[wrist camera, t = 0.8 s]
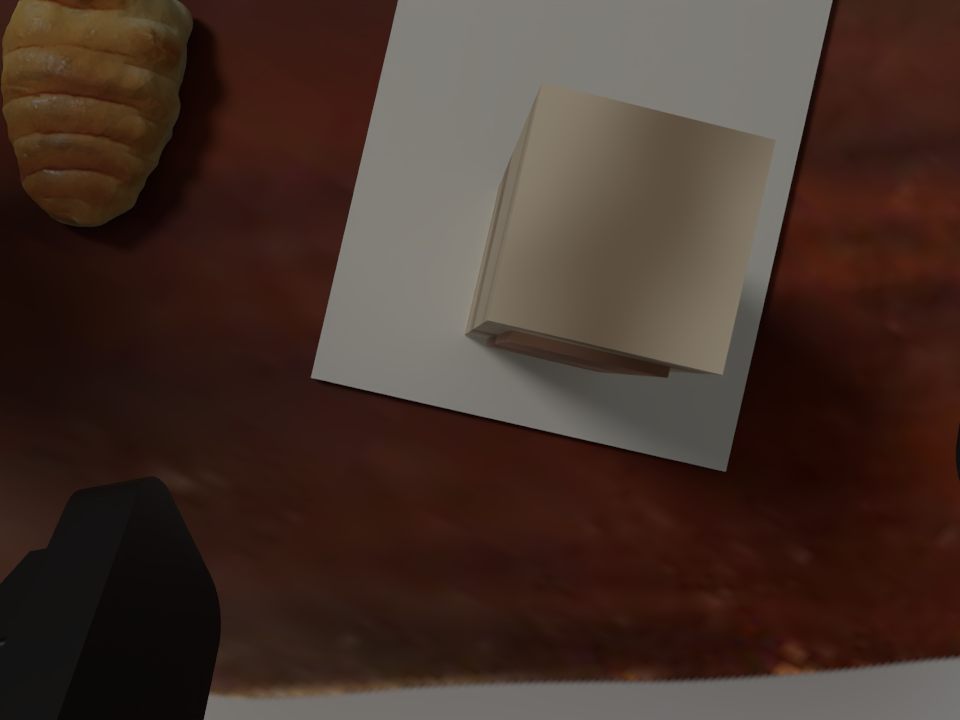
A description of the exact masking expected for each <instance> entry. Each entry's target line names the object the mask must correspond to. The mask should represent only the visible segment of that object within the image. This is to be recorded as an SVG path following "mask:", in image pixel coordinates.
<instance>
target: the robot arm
mask: <svg viewBox="0 0 960 720" xmlns="http://www.w3.org/2000/svg"><path fill="white" fill-rule="evenodd" d="M956 464H957V471H958V476H959V480H960V425H959V432H958V438H957V445H956ZM220 633H221V617H220V607H219V601H218V596H217V592H216V588H215V585H214V582H213V580H212V578H211V575H210V573H209V571H208V569H207V567H206V565H205V563H204V561H203V559H202V557H201V555H200V553H199V551H198V549H197V547H196V545H195V543H194V541H193V539H192V537H191V535H190V533H189V531H188V529H187V527H186V525H185V522H184V520H183V518H182V516H181V514H180V512H179V510H178V508H177V506H176V504H175V502H174V500H173V498H172V496H171V494H170V492H169V490H168V489H167V487H166V486H165V484H164V483H163V482H162V481H161V480H160V479H158V478H156V477H146V478H141V479H135V480H130V481H124V482H119V483H114V484H108V485H103V486H97V487H92V488H86V489H81V490H78V491H76V492H75V493H74V494H73V495H72V496H71V497H70V499H69V500H68V502H67V504H66V506H65V509H64V511H63V513H62V515H61V518H60V520H59V522H58V524H57V527H56V529H55V531H54V533H53V536H52V538H51V540H50V542H49V545H48V547H47V548H46V549H40V550H35V551H30V552H29V553H28V554H27V555H26V556H25V557H24V559H23V560H22V561H21V562H20V563H19V564H18V565H17V566H16V567H15V568H14V570H13V571H12V572H11V573H10V574H9V575H8V576H7V577H6V578H5V579H4V581H3V582H2V583H1V584H0V720H204V715H205V710H206V706H207V701H208V696H209V691H210V686H211V681H212V677H213V672H214V667H215V662H216V657H217V652H218V647H219V642H220Z"/></svg>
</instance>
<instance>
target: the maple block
mask: <svg viewBox="0 0 960 720" xmlns="http://www.w3.org/2000/svg"><path fill="white" fill-rule="evenodd" d="M775 142H776V140H774V139H770V138H766V137H762V136H758V135H754V134H750V133H746V132H742V131H738V130H734V129H730V128H726V127H722V126H718V125H714V124H710V123H706V122H702V121H698V120H694V119H690V118H686V117H682V116H678V115H674V114H670V113H666V112H662V111H658V110H654V109H650V108H646V107H641V106H637V105H633V104H629V103H625V102H621V101H617V100H613V99H609V98H605V97H601V96H597V95H593V94H589V93H585V92H581V91H577V90H573V89H569V88H565V87H561V86H557V85H553V84H549V83H545V82H542V83H541V86H540V88H539V91H538V93H537V96H536V98H535V100H534V103H533V105H532V108H531V110H530V112H529V115H528V117H527V120H526V122H525V125H524V127H523V129H522V132H521V134H520V137H519V139H518V141H517V144H516V146H515V149H514V151H513V153H512V156H511V158H510V161H509V163H508V166H507V168H506V170H505V173H504V175H503V178H502V180H501V182H500V185H499V187H498V191H497V196H496V200H495V204H494V209H493V213H492V217H491V222H490V226H489V230H488V235H487V239H486V244H485V248H484V252H483V257H482V261H481V265H480V270H479V274H478V278H477V283H476V287H475V291H474V296H473V300H472V304H471V309H470V313H469V317H468V322H467V326H466V331H465V335H467V336H472V337H476V338H480V339H485V340H487V342H486V346H487V347H492V348H496V349H500V350H505V351H509V352H513V353H518V354H522V355H526V356H531V357H535V358H539V359H544V360H548V361H552V362H557V363H561V364H565V365H570V366H574V367H578V368H582V369H587V370H591V371H595V372H601V373H614V374H626V375H638V376H651V377H663V378H668V375H669V372H678V373H696V374H714V375H723V371H724V367H725V362H726V358H727V354H728V349H729V345H730V340H731V336H732V332H733V327H734V323H735V318H736V314H737V309H738V305H739V301H740V296H741V292H742V287H743V283H744V279H745V274H746V270H747V265H748V261H749V256H750V252H751V248H752V243H753V239H754V234H755V230H756V226H757V221H758V217H759V212H760V208H761V204H762V199H763V195H764V190H765V186H766V181H767V177H768V173H769V168H770V164H771V159H772V155H773V151H774V146H775Z"/></svg>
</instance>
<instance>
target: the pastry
mask: <svg viewBox="0 0 960 720" xmlns="http://www.w3.org/2000/svg"><path fill="white" fill-rule="evenodd" d="M192 28H193V20H192V17H191V14H190V11H189V10H188V9H187V8H186V7H185V6H184V5H183V4H182V3H180V2H179V1H177V0H19V2H18V4H17V7H16V9H15V11H14V13H13V15H12V17H11V20H10V23H9V25H8V26H7V28H6V32H5V35H4V37H3V65H4V66H3V72H2V77H1V91H2V94H3V109H2V110H3V115H4V117H5V120H6V122H7V125H8V137H9V140H10V142H11V143H12V145H13V147H14V150H15V154H16V156H17V160H18V166H19V170H20V175H21V183H22V186H23V188H24V189H25V191H26V192H27V194H28V195H29V196H30V197H31V198H32V200H33V201H35V202H36V203H37V204H38V205H39V206H40V207H41V208H42V209H43V210H44V211H45V212H47V213H48V214H49V216H50V217H52V218H53V219H55V220H57V221H58V222H61V223H63V224H68V225H72V226H78V227H95V226H101V225H103V224H105V223H107V222H108V221H110V220H112V219H113V218H115V217H117V216H119V215H121V214H123V213H125V212H126V211H128V210H130V209H131V208H132V207H133V206H134V205H135V203H136V201H137V198H138V195H139V193H140V192H141V190H142V189H143V188H144V186H145V182H146V179H147V177H148V176H149V175H150V173H151V172H152V171H153V170H154V169H155V168H156V167H157V165H158V163H159V158H160V155H161V153H162V150H163V148H164V147H165V145H166V144H167V143H168V142H169V141H170V139H171V138H172V134H173V131H172V129H173V127H174V125H175V123H176V121H177V119H178V116H179V112H180V106H181V104H180V100H179V96H178V93H179V89H180V86H181V84H182V81H183V76H184V72H185V69H186V61H187V42H188V39H189V36H190V34H191V31H192Z"/></svg>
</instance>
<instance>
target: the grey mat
mask: <svg viewBox="0 0 960 720" xmlns="http://www.w3.org/2000/svg"><path fill="white" fill-rule="evenodd" d="M831 5H832V0H398V4H397V8H396V13H395V17H394V21H393V26H392V30H391V34H390V39H389V43H388V47H387V52H386V56H385V60H384V65H383V69H382V73H381V77H380V82H379V86H378V90H377V95H376V99H375V103H374V108H373V112H372V116H371V121H370V125H369V129H368V134H367V138H366V142H365V147H364V151H363V155H362V159H361V164H360V168H359V172H358V177H357V181H356V185H355V190H354V194H353V198H352V203H351V207H350V211H349V216H348V220H347V224H346V229H345V233H344V237H343V241H342V246H341V250H340V254H339V259H338V263H337V267H336V272H335V276H334V280H333V285H332V289H331V293H330V298H329V302H328V306H327V311H326V315H325V319H324V323H323V328H322V332H321V336H320V341H319V345H318V349H317V354H316V358H315V362H314V367H313V371H312V375H311V378H314V379H319V380H323V381H328V382H332V383H336V384H341V385H345V386H350V387H354V388H359V389H363V390H367V391H372V392H376V393H381V394H385V395H389V396H394V397H398V398H403V399H407V400H411V401H416V402H420V403H425V404H429V405H433V406H438V407H442V408H447V409H451V410H456V411H460V412H464V413H469V414H473V415H478V416H482V417H486V418H491V419H495V420H500V421H504V422H508V423H513V424H517V425H522V426H526V427H530V428H535V429H539V430H544V431H548V432H553V433H557V434H561V435H566V436H570V437H575V438H579V439H583V440H588V441H592V442H597V443H601V444H605V445H610V446H614V447H619V448H623V449H627V450H632V451H636V452H641V453H645V454H650V455H654V456H658V457H663V458H667V459H672V460H676V461H680V462H685V463H689V464H694V465H698V466H702V467H707V468H711V469H716V470H720V471H724V472H726V469H727V464H728V460H729V456H730V451H731V447H732V442H733V438H734V434H735V429H736V425H737V420H738V416H739V411H740V407H741V403H742V398H743V394H744V389H745V385H746V380H747V376H748V372H749V367H750V363H751V358H752V354H753V350H754V345H755V341H756V336H757V332H758V327H759V323H760V319H761V314H762V310H763V305H764V301H765V297H766V292H767V288H768V283H769V279H770V274H771V270H772V266H773V261H774V257H775V252H776V248H777V243H778V239H779V235H780V230H781V226H782V221H783V217H784V213H785V208H786V204H787V199H788V195H789V190H790V186H791V182H792V177H793V173H794V168H795V164H796V160H797V155H798V151H799V146H800V142H801V137H802V133H803V129H804V124H805V120H806V115H807V111H808V107H809V102H810V98H811V93H812V89H813V84H814V80H815V76H816V71H817V67H818V62H819V58H820V53H821V49H822V45H823V40H824V36H825V31H826V27H827V23H828V18H829V14H830V9H831ZM542 82H545V83H549V84H553V85H557V86H561V87H565V88H569V89H573V90H577V91H581V92H585V93H589V94H593V95H597V96H601V97H605V98H609V99H613V100H617V101H621V102H625V103H629V104H633V105H637V106H641V107H646V108H650V109H654V110H658V111H662V112H666V113H670V114H674V115H678V116H682V117H686V118H690V119H694V120H698V121H702V122H706V123H710V124H714V125H718V126H722V127H726V128H730V129H734V130H738V131H742V132H746V133H750V134H754V135H758V136H762V137H766V138H770V139H774V140H776V142H775V146H774V151H773V155H772V159H771V164H770V168H769V173H768V177H767V181H766V186H765V190H764V195H763V199H762V204H761V208H760V212H759V217H758V221H757V226H756V230H755V234H754V239H753V243H752V248H751V252H750V256H749V261H748V265H747V270H746V274H745V279H744V283H743V287H742V292H741V296H740V301H739V305H738V309H737V314H736V318H735V323H734V327H733V332H732V336H731V340H730V345H729V349H728V354H727V358H726V362H725V367H724V371H723V375H714V374H696V373H678V372H669V375H668V378H663V377H651V376H638V375H626V374H614V373H601V372H595V371H591V370H587V369H582V368H578V367H574V366H570V365H565V364H561V363H557V362H552V361H548V360H544V359H539V358H535V357H531V356H526V355H522V354H518V353H513V352H509V351H505V350H500V349H496V348H492V347H487V346H486V342H487V340H485V339H480V338H476V337H472V336H467V335H465V331H466V326H467V322H468V317H469V313H470V309H471V304H472V300H473V296H474V291H475V287H476V283H477V278H478V274H479V270H480V265H481V261H482V257H483V252H484V248H485V244H486V239H487V235H488V230H489V226H490V222H491V217H492V213H493V209H494V204H495V200H496V196H497V191H498V187H499V185H500V182H501V180H502V178H503V175H504V173H505V170H506V168H507V166H508V163H509V161H510V158H511V156H512V153H513V151H514V149H515V146H516V144H517V141H518V139H519V137H520V134H521V132H522V129H523V127H524V125H525V122H526V120H527V117H528V115H529V112H530V110H531V108H532V105H533V103H534V100H535V98H536V96H537V93H538V91H539V88H540V86H541V83H542Z"/></svg>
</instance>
